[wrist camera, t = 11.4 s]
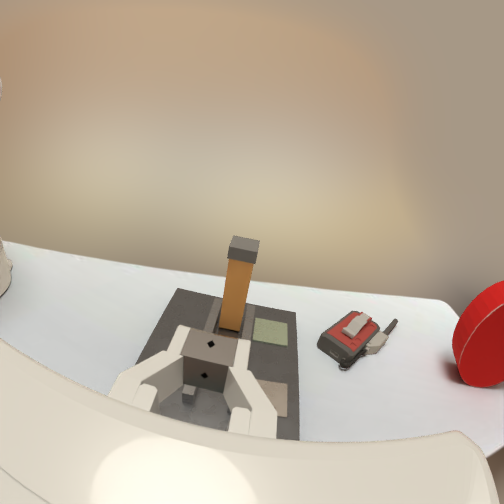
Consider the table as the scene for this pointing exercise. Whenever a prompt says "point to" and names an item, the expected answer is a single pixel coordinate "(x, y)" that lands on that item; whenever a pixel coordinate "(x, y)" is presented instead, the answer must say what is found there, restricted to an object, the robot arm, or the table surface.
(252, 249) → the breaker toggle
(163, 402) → the grey metal board
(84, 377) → the table surface
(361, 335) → the walkie-talkie
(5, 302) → the table surface
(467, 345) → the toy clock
